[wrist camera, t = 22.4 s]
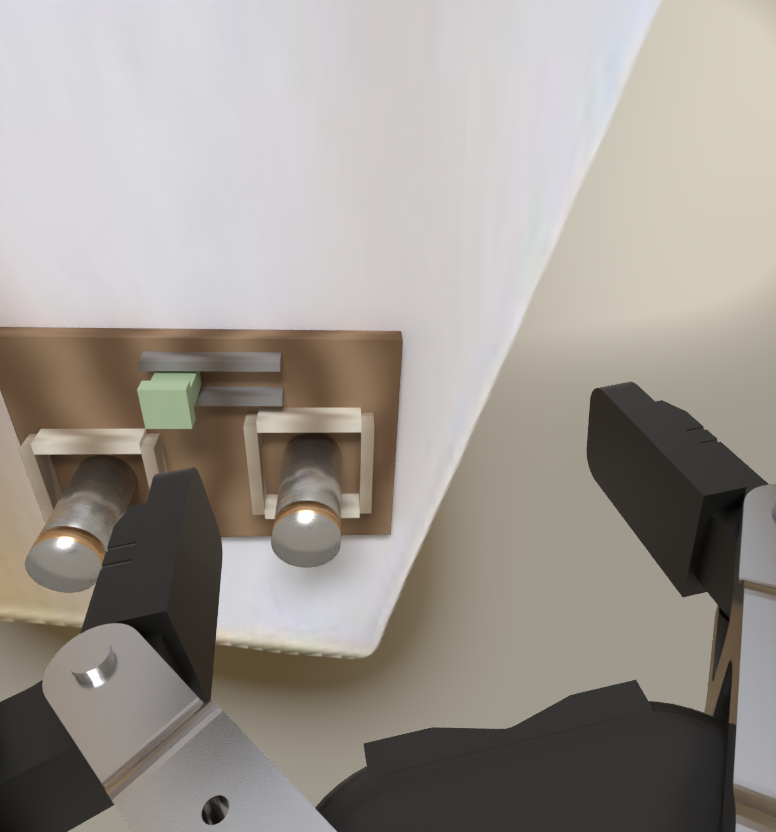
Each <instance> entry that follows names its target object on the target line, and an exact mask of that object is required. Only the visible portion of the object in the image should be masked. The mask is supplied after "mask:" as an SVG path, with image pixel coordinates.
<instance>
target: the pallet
mask: <svg viewBox="0 0 776 832" xmlns="http://www.w3.org/2000/svg"><path fill="white" fill-rule="evenodd" d="M402 341H403V340H402V334H401V331H325V330H227V329H129V328H31V327H0V390H1V393H2V396H3V399H4V401H5V404H6V407H7V410H8V413H9V415H10V418H11V421H12V424H13V426H14V429H15V432H16V435H17V437H18V440H19V443H20V446H21V447H20V448H19V452H20V455H21V458H22V460H23V463H24V466H25V469H26V471H27V474H28V477H29V480H30V482H31V485H32V488H33V490H34V493H35V496H36V499H37V501H38V504H39V507H40V510H41V512H42V515H43V518H44V521H45V523H46V522H47V521H48V519H49V517H50V515H51V513H52V512H53V510H54V508H55V506H56V505H57V503H58V501H59V499H60V498H61V496H62V494H63V492H64V491H65V489H66V487H67V485H68V483H69V482H70V480H71V478H72V476H73V475H74V473H75V471H76V469H77V468H78V466H79V464H80V463H81V462H82V461H83V460H84V459H86V458H88V457H91V456H95V455H108V456H112V457H116V458H118V459H120V460H122V461H124V462H125V463H127V464H128V465H129V466H130V467H131V468H132V469H133V470H134V472H135V474H136V476H137V486H136V489H135V491H134V494H133V496H132V498H131V501H130V503H129V505H128V508H129V507H130V506H132V505H137V504H142V503H147V499H148V495H149V491H150V487H151V483H152V479H153V477H154V475H155V474H160V473H165V472H170V471H176V470H181V469H186V468H191V467H195V468H196V469H197V470H198V472H199V474H200V477H201V480H202V482H203V485H204V488H205V491H206V494H207V497H208V499H209V502H210V505H211V508H212V511H213V513H214V516H215V519H216V522H217V525H218V528H219V532H220V536H221V537H243V536H272V531H273V524H274V519H275V512H276V505H277V498H278V491H279V484H280V477H281V470H282V463H283V456H284V450H285V447H286V445H287V444H288V443H289V442H290V441H291V440H292V439H293V438H294V437H296V436H298V435H301V434H304V433H320V434H323V435H326V436H328V437H330V438H331V439H333V440H334V441H335V442H336V443H337V444H338V446H339V447H340V450H341V454H342V471H341V535H376V534H391V520H392V504H393V488H394V472H395V455H396V439H397V423H398V406H399V390H400V374H401V358H402ZM155 371H200V375H201V382H202V386H201V389H200V391H199V394H198V397H197V400H196V402H195V405H194V412H195V418H196V420H195V423H194V425H193V428H192V429H145V424H144V420H143V415H142V410H141V406H140V401H139V397H138V392H137V389H138V387H139V385H140V383H141V381H151V379H152V377H153V375H154V373H155ZM128 508H127V510H128ZM127 510H126V511H127Z"/></svg>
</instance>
